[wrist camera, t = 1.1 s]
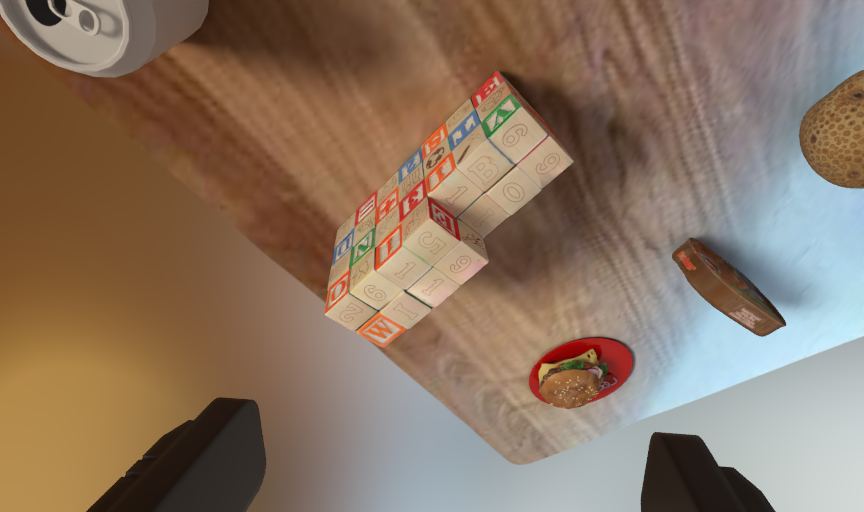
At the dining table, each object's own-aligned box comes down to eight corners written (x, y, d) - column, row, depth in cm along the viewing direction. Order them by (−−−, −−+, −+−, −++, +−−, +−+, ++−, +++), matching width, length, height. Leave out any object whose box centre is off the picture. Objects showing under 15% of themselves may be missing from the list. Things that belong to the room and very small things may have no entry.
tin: (754, 282, 55) (805, 333, 48) (731, 299, 56) (777, 351, 50) (677, 224, 49) (724, 274, 42) (654, 245, 50) (695, 297, 44)
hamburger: (542, 414, 68) (553, 452, 63) (516, 356, 60) (527, 395, 55) (637, 386, 65) (657, 423, 61) (624, 322, 57) (645, 359, 52)
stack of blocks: (496, 66, 38) (535, 120, 28) (542, 117, 41) (592, 182, 31) (335, 230, 46) (321, 317, 36) (383, 263, 49) (382, 351, 39)
